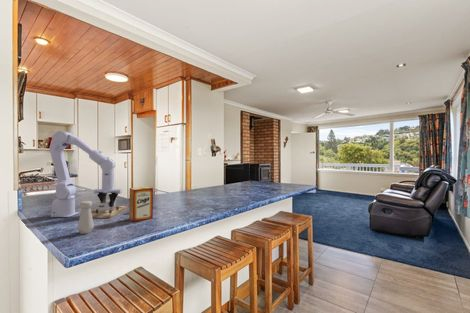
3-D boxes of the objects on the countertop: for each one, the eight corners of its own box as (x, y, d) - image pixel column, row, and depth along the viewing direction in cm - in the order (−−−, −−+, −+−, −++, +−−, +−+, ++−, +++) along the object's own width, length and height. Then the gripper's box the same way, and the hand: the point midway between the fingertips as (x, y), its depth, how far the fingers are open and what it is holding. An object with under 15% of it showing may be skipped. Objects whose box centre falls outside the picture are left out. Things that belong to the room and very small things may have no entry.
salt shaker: (82, 230, 96) (83, 199, 96) (96, 229, 96) (97, 199, 96) (74, 234, 90) (74, 202, 90) (89, 234, 91) (89, 202, 90)
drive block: (97, 212, 117) (97, 203, 117) (108, 208, 126) (108, 199, 126) (105, 213, 117) (105, 203, 117) (115, 208, 126) (115, 199, 126)
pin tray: (85, 217, 114) (85, 211, 114) (105, 209, 131) (105, 204, 131) (110, 218, 114) (110, 212, 114) (127, 209, 131) (127, 204, 131)
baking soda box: (133, 221, 109) (133, 189, 108) (129, 218, 113) (129, 187, 113) (152, 218, 115) (153, 187, 115) (148, 215, 120) (148, 185, 120)
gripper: (90, 182, 118) (89, 207, 119) (117, 182, 118) (116, 208, 118) (98, 180, 125) (98, 204, 126) (123, 181, 125) (123, 205, 125)
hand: (107, 206), depth 122 cm, fingers closed on drive block, 4 cm apart
